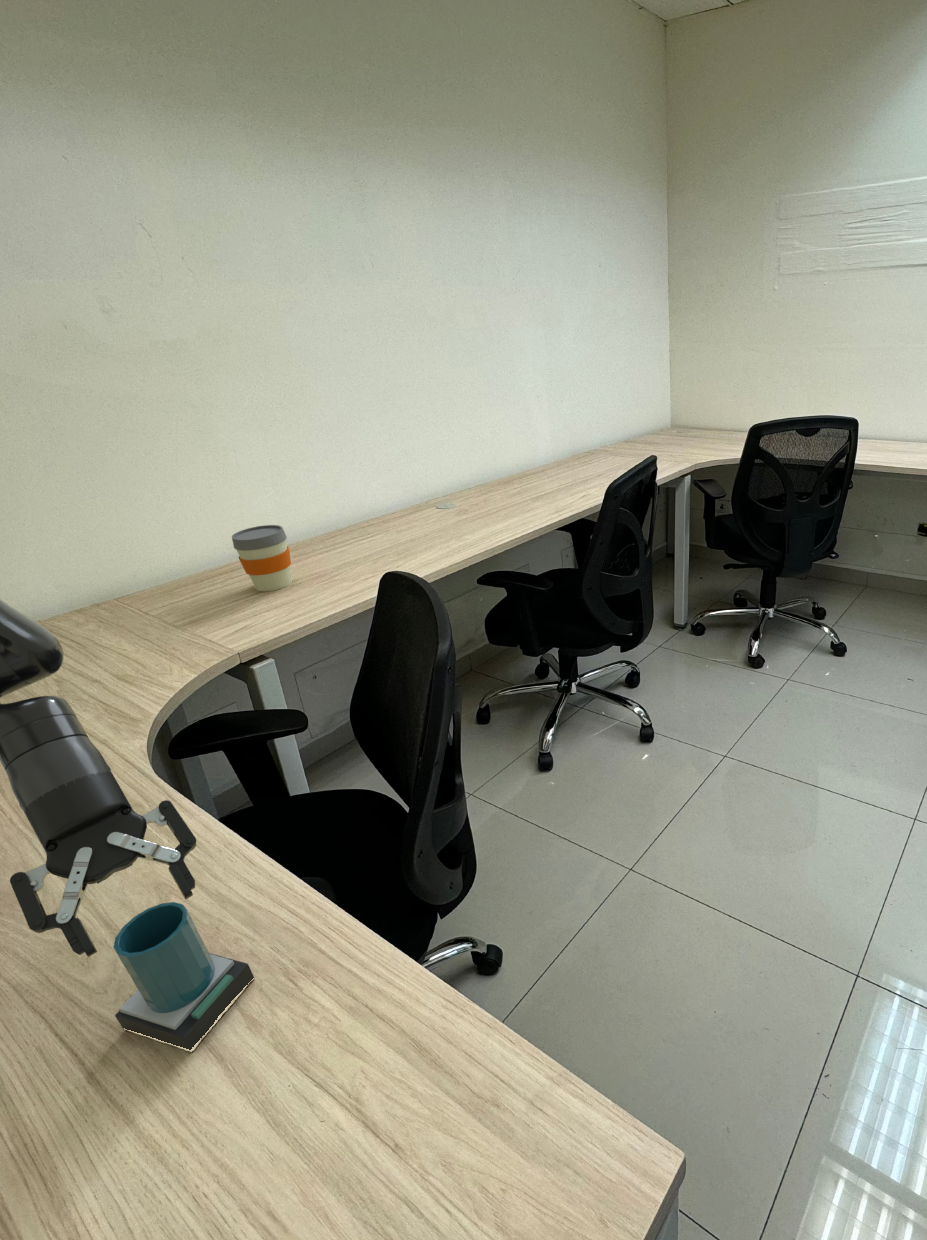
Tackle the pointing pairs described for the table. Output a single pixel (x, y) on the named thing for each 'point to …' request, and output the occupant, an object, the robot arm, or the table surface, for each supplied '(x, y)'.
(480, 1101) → the table surface
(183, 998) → the ceramic cup
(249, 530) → the reusable coffee cup
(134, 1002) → the scale
